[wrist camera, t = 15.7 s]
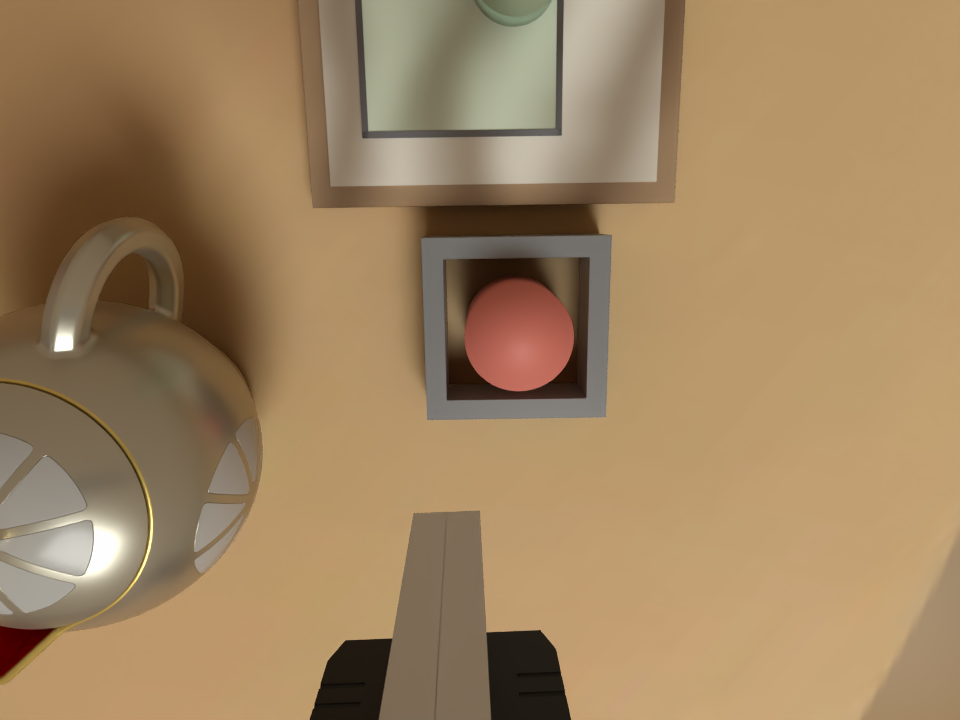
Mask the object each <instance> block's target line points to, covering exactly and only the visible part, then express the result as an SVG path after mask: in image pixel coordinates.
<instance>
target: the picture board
mask: <svg viewBox="0 0 960 720" xmlns="http://www.w3.org/2000/svg"><path fill="white" fill-rule="evenodd" d="M298 11H299V25H300V39H301V52H302V66H303V80H304V94H305V108H306V122H307V135H308V149H309V163H310V177H311V191H312V204H313V208H347V207H416V206H485V205H553V204H622V203H673V202H674V201H675V182H676V164H677V145H678V127H679V108H680V90H681V71H682V53H683V34H684V16H685V0H552V2H551V3H550V5H549V7H548V8H547V10H546V11H545V12H544V13H543V14H542V15H541V16H540V17H539V18H538V19H536V20H535V21H533V22H531V23H529V24H526V25H523V26H518V27H508V26H503V25H500V24H497V23H495V22H493V21H492V20H490V19H489V18H487V17H486V16H485V15H484V14H483V13H482V12H481V10H480V9H479V8H478V6H477V5H476V3H475V1H474V0H298Z"/></svg>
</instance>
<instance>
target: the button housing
mask: <svg viewBox="0 0 960 720" xmlns="http://www.w3.org/2000/svg"><path fill="white" fill-rule="evenodd" d="M611 242H612V235H606V234H539V235H471V236H425V237H423V238H421V252H422V281H423V309H424V338H425V367H426V396H427V420H458V419H522V418H586V417H606V395H607V365H608V334H609V303H610V272H611ZM562 257H580V266H579V313H578V359H577V383H547V384H545V385H543V386H541V387H539V388H536V389H532V390H527V391H510V390H505V389H501V388H498V387H496V386H494V385H492V384H471V385H449V360H448V321H447V283H446V259H495V258H562Z"/></svg>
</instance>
